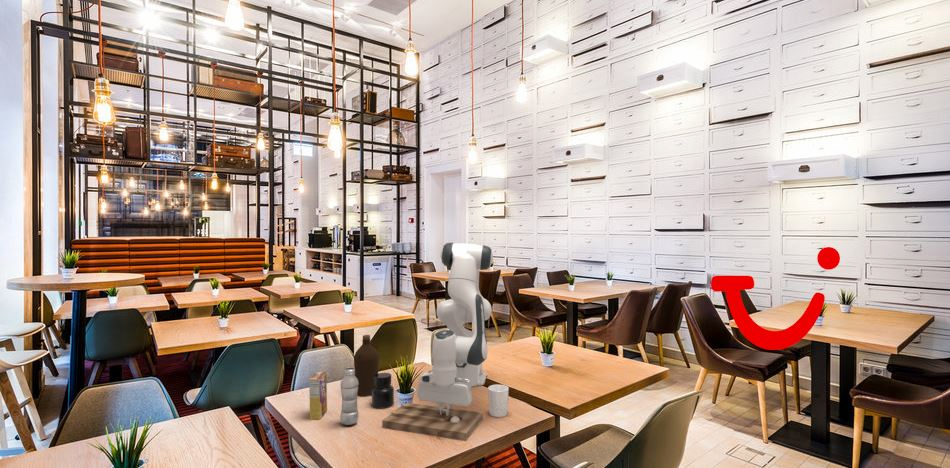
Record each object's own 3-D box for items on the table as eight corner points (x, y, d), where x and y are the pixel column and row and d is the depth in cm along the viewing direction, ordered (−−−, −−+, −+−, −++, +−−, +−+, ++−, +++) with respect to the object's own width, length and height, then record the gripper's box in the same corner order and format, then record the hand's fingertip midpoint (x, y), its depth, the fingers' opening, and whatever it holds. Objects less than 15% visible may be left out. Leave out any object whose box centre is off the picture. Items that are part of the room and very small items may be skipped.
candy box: (316, 410, 176) (316, 371, 176) (327, 410, 176) (327, 371, 176) (308, 419, 167) (308, 378, 167) (320, 419, 167) (320, 378, 167)
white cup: (507, 418, 167) (507, 392, 167) (486, 417, 169) (486, 390, 169) (509, 410, 175) (509, 385, 175) (489, 409, 176) (489, 383, 176)
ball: (460, 414, 161) (462, 424, 161) (451, 415, 163) (453, 425, 162) (456, 418, 158) (459, 428, 158) (447, 419, 159) (449, 429, 159)
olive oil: (378, 396, 191) (378, 337, 191) (352, 397, 189) (352, 338, 189) (379, 387, 201) (379, 332, 201) (355, 389, 200) (355, 333, 200)
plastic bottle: (352, 418, 168) (352, 365, 168) (362, 423, 163) (362, 369, 163) (336, 423, 163) (336, 368, 163) (346, 429, 158) (345, 372, 158)
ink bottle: (392, 399, 187) (392, 370, 187) (396, 407, 179) (396, 377, 179) (369, 402, 184) (369, 373, 184) (372, 410, 176) (372, 379, 176)
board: (382, 427, 160) (382, 417, 160) (405, 408, 177) (405, 399, 177) (466, 440, 149) (466, 429, 149) (482, 419, 166) (482, 409, 166)
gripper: (474, 376, 161) (474, 415, 161) (423, 371, 168) (423, 408, 168) (468, 382, 155) (468, 422, 155) (415, 376, 162) (415, 414, 162)
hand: (444, 414), depth 162 cm, fingers closed
